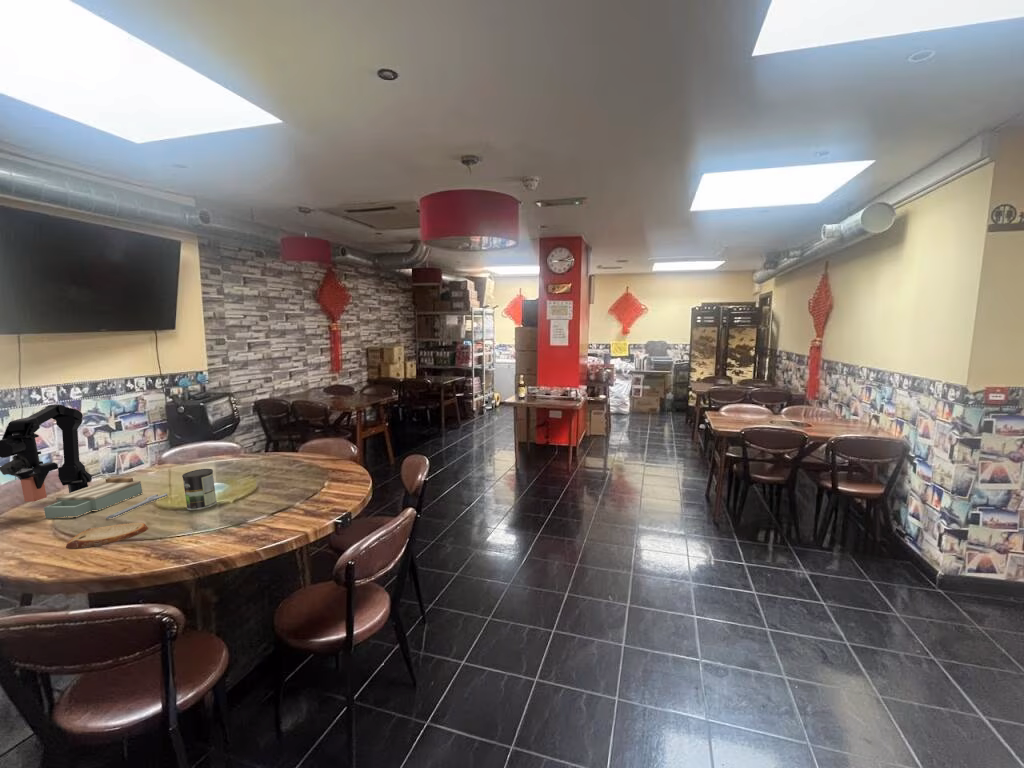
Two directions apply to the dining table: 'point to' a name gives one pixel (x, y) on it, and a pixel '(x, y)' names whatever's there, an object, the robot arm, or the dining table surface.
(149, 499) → the adjustable wrench
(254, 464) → the dining table surface
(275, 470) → the dining table surface
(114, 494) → the grey-green open box
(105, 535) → the bread slice
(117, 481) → the slatted box lid
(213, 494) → the coffee can
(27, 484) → the red rectangular block
